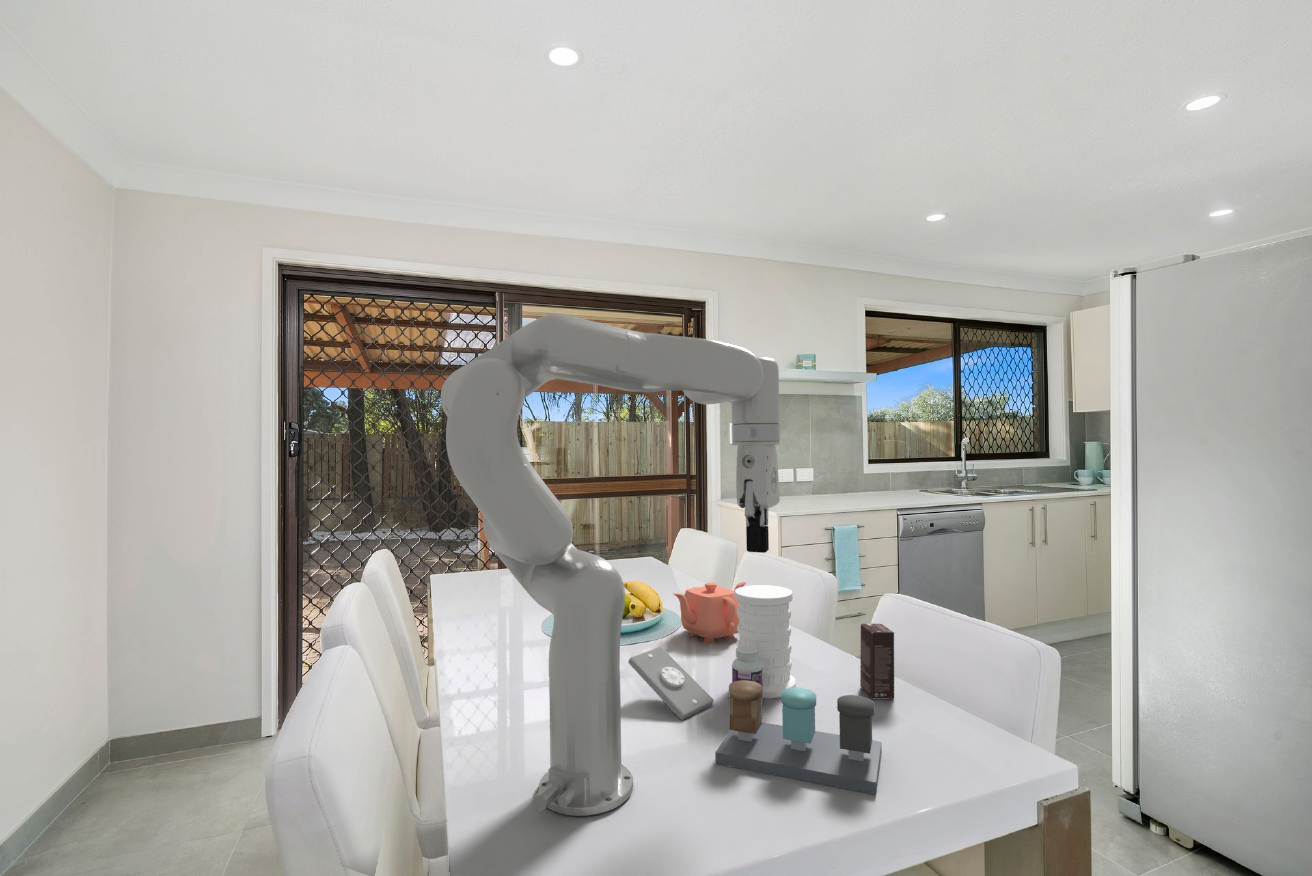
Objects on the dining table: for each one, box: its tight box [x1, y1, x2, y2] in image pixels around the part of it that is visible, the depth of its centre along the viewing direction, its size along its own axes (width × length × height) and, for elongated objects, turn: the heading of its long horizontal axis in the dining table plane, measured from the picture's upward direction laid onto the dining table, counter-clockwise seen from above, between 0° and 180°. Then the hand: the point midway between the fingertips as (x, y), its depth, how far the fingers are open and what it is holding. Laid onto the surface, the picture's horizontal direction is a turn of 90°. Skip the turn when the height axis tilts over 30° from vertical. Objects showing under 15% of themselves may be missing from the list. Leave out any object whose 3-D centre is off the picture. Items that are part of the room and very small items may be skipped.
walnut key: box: [728, 680, 763, 734], centre depth 95 cm, size 5×5×6 cm
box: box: [859, 623, 895, 701], centre depth 115 cm, size 6×4×12 cm
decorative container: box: [735, 584, 797, 699], centre depth 119 cm, size 12×12×18 cm
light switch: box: [628, 646, 714, 721], centre depth 113 cm, size 8×6×14 cm
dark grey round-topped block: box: [836, 694, 875, 754], centre depth 89 cm, size 5×5×6 cm
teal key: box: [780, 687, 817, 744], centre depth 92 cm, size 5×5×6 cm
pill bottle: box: [731, 646, 764, 703], centre depth 111 cm, size 5×5×10 cm
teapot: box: [672, 581, 747, 645], centre depth 151 cm, size 15×17×13 cm
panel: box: [714, 721, 883, 795], centre depth 92 cm, size 12×22×6 cm, turn 67°
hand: (757, 551), depth 99 cm, fingers closed
